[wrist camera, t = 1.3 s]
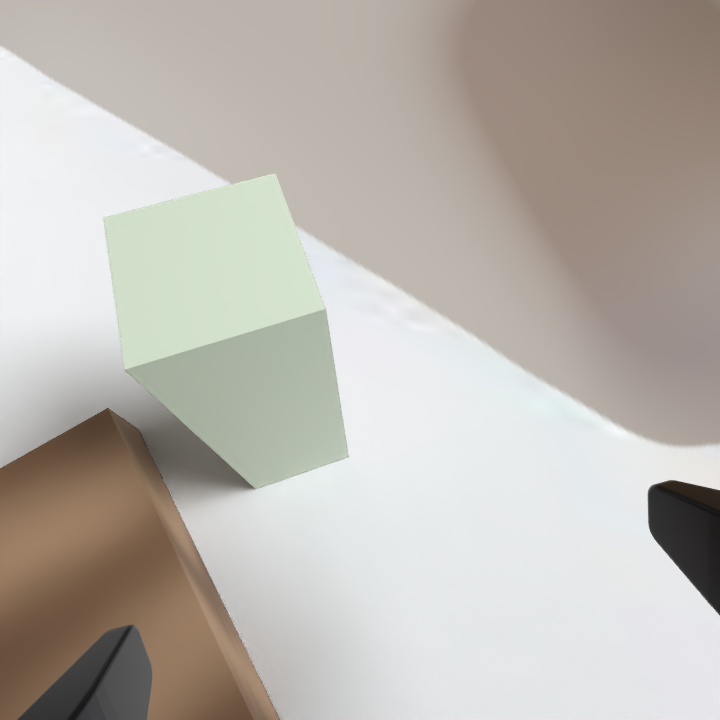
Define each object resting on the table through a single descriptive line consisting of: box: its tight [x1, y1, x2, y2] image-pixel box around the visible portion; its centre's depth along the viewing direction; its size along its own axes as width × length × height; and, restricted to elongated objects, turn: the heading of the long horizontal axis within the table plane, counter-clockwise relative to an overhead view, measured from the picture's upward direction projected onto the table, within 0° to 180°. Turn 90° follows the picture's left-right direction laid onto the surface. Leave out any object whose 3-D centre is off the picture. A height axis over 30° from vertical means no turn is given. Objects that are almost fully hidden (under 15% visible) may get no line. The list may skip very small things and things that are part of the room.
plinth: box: [0, 408, 280, 720], centre depth 18 cm, size 14×9×3 cm, turn 34°
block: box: [103, 173, 349, 489], centre depth 17 cm, size 4×4×13 cm
